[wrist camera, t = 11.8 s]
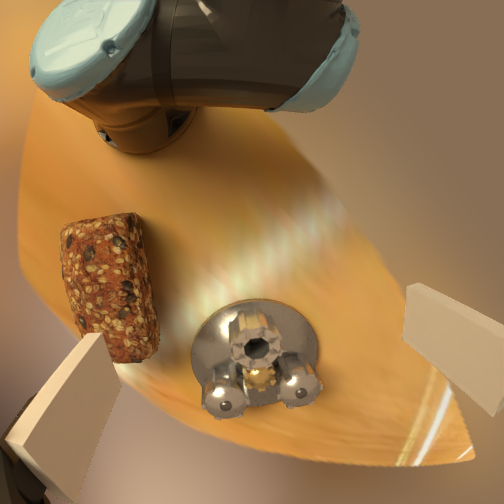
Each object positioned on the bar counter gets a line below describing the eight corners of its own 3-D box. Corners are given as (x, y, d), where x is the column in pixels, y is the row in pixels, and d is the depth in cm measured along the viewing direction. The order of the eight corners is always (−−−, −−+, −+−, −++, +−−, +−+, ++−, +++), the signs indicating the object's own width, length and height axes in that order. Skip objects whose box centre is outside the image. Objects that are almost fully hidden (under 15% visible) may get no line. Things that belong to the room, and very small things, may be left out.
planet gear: (225, 310, 39) (226, 329, 33) (272, 304, 40) (280, 321, 34) (232, 350, 41) (234, 373, 35) (276, 344, 41) (284, 365, 35)
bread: (165, 333, 40) (152, 369, 31) (104, 335, 39) (80, 368, 30) (144, 209, 37) (120, 214, 27) (80, 219, 36) (44, 227, 26)
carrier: (179, 308, 40) (171, 331, 32) (313, 288, 41) (332, 307, 34) (205, 408, 44) (204, 438, 36) (315, 390, 45) (329, 417, 38)
